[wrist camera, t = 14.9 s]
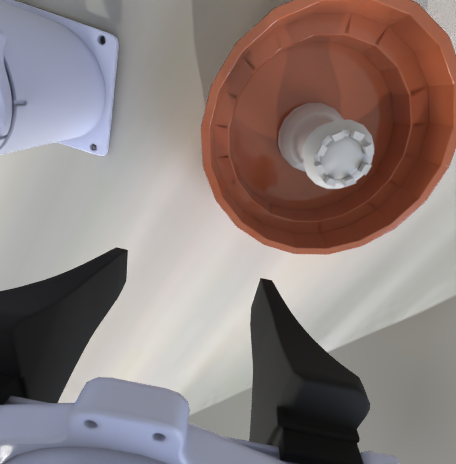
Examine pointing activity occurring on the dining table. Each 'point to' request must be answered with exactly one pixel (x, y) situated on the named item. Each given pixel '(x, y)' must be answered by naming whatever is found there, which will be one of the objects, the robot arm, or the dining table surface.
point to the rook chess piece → (326, 145)
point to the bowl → (347, 105)
